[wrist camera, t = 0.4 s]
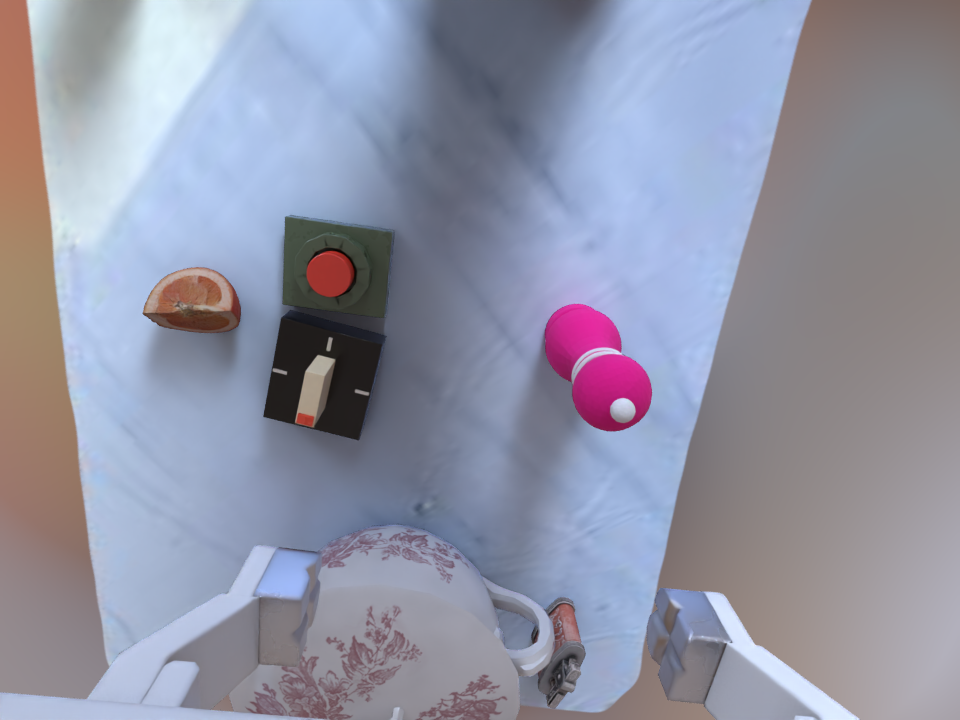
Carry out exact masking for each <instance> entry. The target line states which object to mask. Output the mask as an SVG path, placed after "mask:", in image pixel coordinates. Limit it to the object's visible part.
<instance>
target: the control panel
mask: <svg viewBox="0 0 960 720" xmlns="http://www.w3.org/2000/svg"><path fill="white" fill-rule="evenodd" d="M386 337H387V336H385V335H382V334H378V333H374V332H370V331H367V330H363V329H359V328H356V327H352V326H348V325H344V324H341V323H337V322H333V321H330V320H326V319H322V318H319V317H315V316H311V315H307V314H304V313H300V312H296V311H293V310H290V311H289V312H288V313H286V314H285V315H284V316H283V317H282V318H281V322H280V328H279V333H278V339H277V344H276V350H275V355H274V361H273V366H272V372H271V377H270V383H269V388H268V394H267V399H266V404H265V410H264V415H263V417H266V418H270V419H274V420H278V421H282V422H286V423H291V424H295V425H299V426H303V427H307V428H311V429H315V430H319V431H323V432H327V433H331V434H335V435H339V436H343V437H347V438H351V439H356V440H359V439H360V436H361V433H362V431H363V428H364V425H365V421H366V417H367V413H368V409H369V405H370V401H371V397H372V393H373V389H374V385H375V381H376V377H377V373H378V369H379V365H380V361H381V357H382V353H383V349H384V345H385V341H386ZM317 355H320V356H324V357H328V358H332V359H335V365H334V369H333V374H332V378H331V383H330V388H329V392H328V397H327V401H326V406H325V409H324V410H323V412H322V414H321V416H320V417H319V419H318V421H317V423H316V424H315V426H314V428H313V427H309V426H305V425H301V424H297V423H295V420H296V415H297V410H298V405H299V400H300V396H301V391H302V386H303V381H304V376H305V371H306V370H307V369H308V367H309V366H310V365H311V363H312V362H313V361H314V359H315V358H316V357H317Z"/></svg>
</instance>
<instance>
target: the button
mask: <svg viewBox="0 0 960 720" xmlns="http://www.w3.org/2000/svg"><path fill="white" fill-rule="evenodd" d="M307 279H308V282H309V284H310V286H311V287H312V289H313V290H314V291H316V292H317V293H318V294H320V295H323V296H326V297H335V296H339V295H341V294H342V293H344V292H345V291H346V290H347V289H348V288H349V287H350V285H351V284H352V282H353V279H354V268H353V265H352V263H351V261H350V260H349V259H348V258H347V257H346V256H345V255H344V254H342V253H340V252H337V251H325V252H322V253H320V254H319V255H317V256H316V257H314V258H313V259H312V260H311V261H310V263H309V265H308V268H307Z"/></svg>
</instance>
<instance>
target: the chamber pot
mask: <svg viewBox="0 0 960 720" xmlns="http://www.w3.org/2000/svg"><path fill="white" fill-rule="evenodd" d="M317 552H321V554H322V567H321V570H320V573H319V576H318V580H319V581H320V594H319V601H318V606H317V610H316V614H315V618H314V621H313V624H312V626H311V627H310V628H308V629H307V642H306V645H305V648H304V651H303V654H302V657H301V660H300V663H299V666H298V667H290V666H274V665H258V667H257V668H256V669H255V670H254V671H253V672H252V673H251V674H250V675H249V676H247V677H246V678H245V679H244V680H243V681H242V682H241V683H240V684H239V685H238V686H236V687H235V688H234V689H233V690H232V691H231V692H230V693H229V697H230V701H231V704H232V708H233V711H234V712H242V713H254V714H266V715H278V716H290V717H302V718H314V719H326V720H516V717H517V715H518V712H519V709H520V694H519V676H527V677H529V676H533V675H535V674H536V673H538V672H539V671H540V670H542V669H543V668H544V667H545V666H547V665H548V664H549V663H550V660H551V657H552V654H553V652H554V649H555V646H556V645H555V632H554V626H553V622H552V620H551V618H550V616H549V614H548V612H547V611H546V610H545V609H544V608H543V607H541V606H540V605H538V604H537V603H535V602H534V601H532V600H531V599H529V598H528V597H527V596H525V595H523V594H520V593H517V592H514V591H511V590H508V589H505V588H502V587H500V586H498V585H496V584H494V583H492V582H491V581H489V580H487V579H486V578H484V577H483V576H481V574H480V572H479V570H478V569H477V568H476V567H475V566H474V565H473V564H472V563H471V562H470V561H469V560H468V559H467V558H466V557H465V556H464V555H463V554H462V553H461V552H460V551H459V550H458V549H456V548H455V547H454V546H453V545H451V544H450V543H449V542H447V541H446V540H444V539H442V538H441V537H439V536H437V535H435V534H433V533H431V532H429V531H427V530H425V529H422V528H417V527H411V526H406V525H401V524H389V525H374V526H370V527H368V528H365V529H362V530H359V531H356V532H353V533H351V534H348V535H345V536H343V537H340V538H338V539H335V540H333V541H331V542H329V543H328V544H327V545H325V546H324V547H323V548H321V549H320V550H319V551H317ZM495 607H496V608H498V609H502V610H505V611H509V612H513V613H517V614H520V615H521V616H523V617H524V618H526V619H527V620H529V621H530V622H532V623H533V624H535V625H536V626H537V628H538V633H539V638H538V642H536V643H535V644H533V645H532V646H530V647H528V648H524V649H520V650H512V649H507V648H505V638H504V634H503V632H502V631H501V630H500V629H499V618H498V615H497V612H496V609H495Z"/></svg>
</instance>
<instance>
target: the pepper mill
mask: <svg viewBox="0 0 960 720" xmlns="http://www.w3.org/2000/svg"><path fill="white" fill-rule="evenodd" d="M545 340H546V342H545V350H546V356H547V359H548V361H549V363H550V365H551V366H552V367H553V369H554V370H555V371H556V372H557V373H558V374H559V375H560V376H561V377H562V378H564V379H566V380H568V381H570V382H572V385H573V389H572V396H573V401H574V404H575V407H576V409H577V411H578V413H579V414H580V416H581V417H582V418H583V419H584V420H585V421H586V422H587V423H589V424H590V425H592V426H593V427H595V428H598V429H601V430H605V431H620V430H624V429H626V428H629V427H631V426H633V425H635V424H636V423H637V422H639V421H640V420H641V419H642V418H643V417H644V416H645V414H646V412H647V411H648V409H649V406H650V404H651V397H652V388H651V383H650V380H649V377H648V375H647V373H646V372H645V370H644V369H643V368H642V367H641V366H640V365H639V364H638V363H637V362H636V361H634V360H633V359H631V358H629V357H627V356H624V355H623V354H622V353H621V338H620V335H619V332H618V330H617V328H616V326H615V325H614V323H613V322H612V321H611V320H610V319H609V318H608V317H607V316H606V315H604V314H602V313H600V312H598V311H595V310H594V309H593V308H591V307H589V306H586V305H582V304H572V305H567V306H565V307H562V308H561V309H559V310H557V311H556V312H555V313H554V314H553V315H552V316H551V318H550V319H549V321H548V323H547V326H546V330H545Z"/></svg>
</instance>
